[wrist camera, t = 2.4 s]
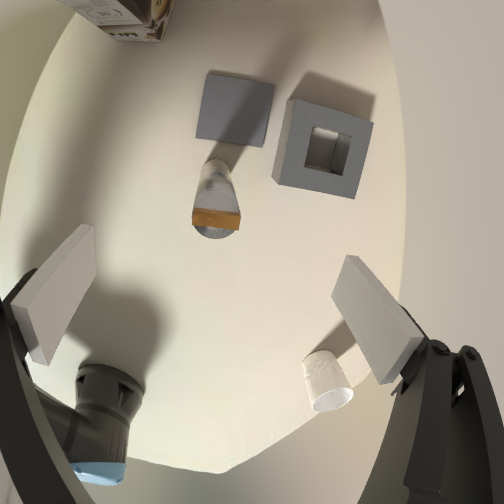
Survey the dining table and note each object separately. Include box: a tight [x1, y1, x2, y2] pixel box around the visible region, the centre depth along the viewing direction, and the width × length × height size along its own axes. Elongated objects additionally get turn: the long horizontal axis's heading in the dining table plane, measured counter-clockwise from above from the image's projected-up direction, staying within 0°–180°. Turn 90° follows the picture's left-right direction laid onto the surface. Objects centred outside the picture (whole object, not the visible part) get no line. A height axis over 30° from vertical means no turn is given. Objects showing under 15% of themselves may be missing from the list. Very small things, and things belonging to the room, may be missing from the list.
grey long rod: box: [192, 159, 241, 239], centre depth 26 cm, size 3×3×17 cm
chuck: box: [272, 99, 374, 199], centre depth 32 cm, size 10×10×4 cm
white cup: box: [302, 350, 354, 412], centre depth 48 cm, size 8×8×10 cm
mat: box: [196, 74, 275, 148], centre depth 30 cm, size 8×8×1 cm
